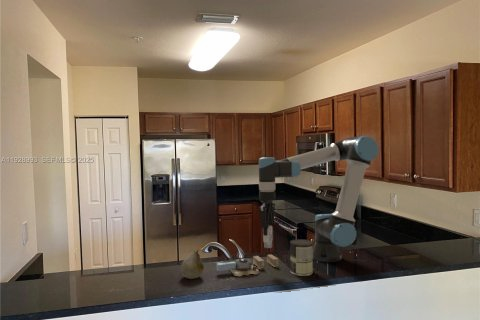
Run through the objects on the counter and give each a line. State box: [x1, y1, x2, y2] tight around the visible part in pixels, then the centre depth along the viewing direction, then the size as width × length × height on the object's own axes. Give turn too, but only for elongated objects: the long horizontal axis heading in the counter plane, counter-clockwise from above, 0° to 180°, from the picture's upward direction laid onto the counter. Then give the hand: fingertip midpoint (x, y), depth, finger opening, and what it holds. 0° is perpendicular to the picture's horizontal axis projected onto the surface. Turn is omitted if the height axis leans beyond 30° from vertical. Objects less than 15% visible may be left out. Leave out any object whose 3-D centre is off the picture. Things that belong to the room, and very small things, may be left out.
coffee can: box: [289, 238, 314, 277], centre depth 162 cm, size 10×10×14 cm
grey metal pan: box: [216, 257, 253, 272], centre depth 162 cm, size 16×8×4 cm, turn 109°
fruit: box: [180, 249, 205, 280], centre depth 156 cm, size 10×9×12 cm
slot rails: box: [252, 254, 279, 270], centre depth 172 cm, size 10×8×4 cm
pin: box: [263, 225, 273, 249], centre depth 163 cm, size 4×4×10 cm
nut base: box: [229, 265, 260, 277], centre depth 164 cm, size 11×11×3 cm
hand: (267, 241), depth 164 cm, fingers closed on pin, 3 cm apart
